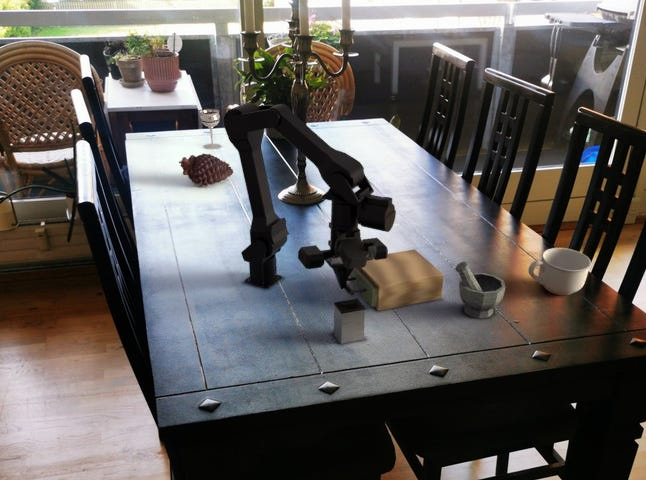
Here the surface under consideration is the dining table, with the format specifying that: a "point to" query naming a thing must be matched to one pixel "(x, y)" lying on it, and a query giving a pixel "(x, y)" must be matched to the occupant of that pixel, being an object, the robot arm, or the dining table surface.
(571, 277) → the teacup
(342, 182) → the robot arm
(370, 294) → the drawer
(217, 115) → the wineglass
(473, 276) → the mortar and pestle
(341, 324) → the metal box
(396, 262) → the cabinet
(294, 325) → the dining table surface
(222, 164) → the pine cone
